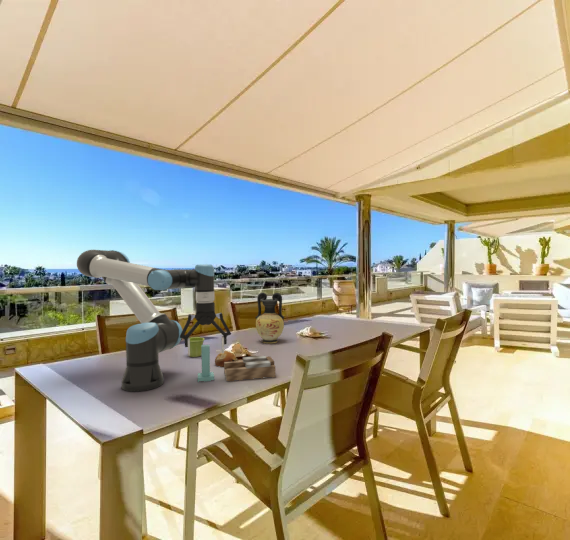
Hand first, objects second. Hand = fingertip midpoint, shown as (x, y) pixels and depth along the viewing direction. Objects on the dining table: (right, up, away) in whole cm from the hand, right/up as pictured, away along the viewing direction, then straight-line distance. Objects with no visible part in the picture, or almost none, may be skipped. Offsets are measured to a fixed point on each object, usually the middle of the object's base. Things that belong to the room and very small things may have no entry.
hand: (206, 353), depth 143 cm
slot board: (+17, -10, +5) cm, 21 cm away
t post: (0, -10, 0) cm, 10 cm away
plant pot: (-14, -10, +37) cm, 41 cm away
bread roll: (+5, -10, +21) cm, 24 cm away
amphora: (+23, -10, +68) cm, 73 cm away
